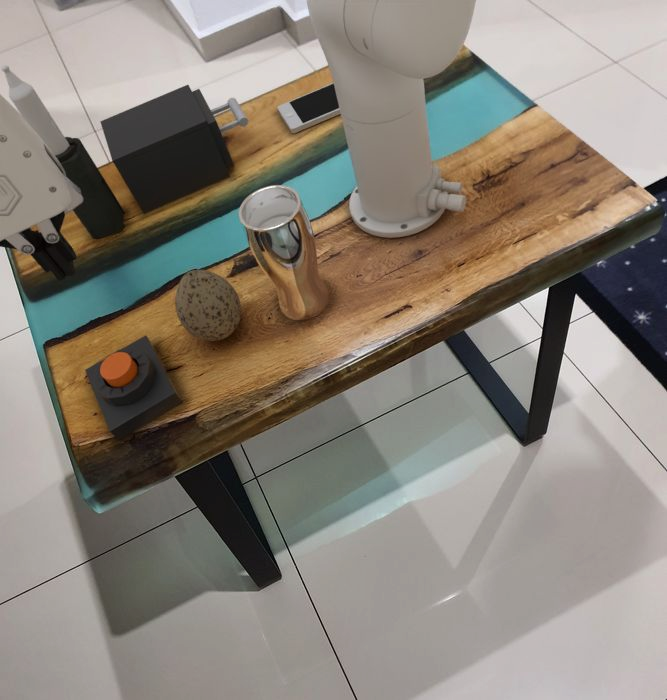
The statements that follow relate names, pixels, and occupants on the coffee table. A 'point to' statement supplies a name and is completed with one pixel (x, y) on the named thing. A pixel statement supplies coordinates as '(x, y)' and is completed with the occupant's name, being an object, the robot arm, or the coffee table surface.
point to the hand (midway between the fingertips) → (66, 268)
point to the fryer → (164, 149)
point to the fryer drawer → (217, 130)
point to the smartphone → (310, 108)
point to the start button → (119, 369)
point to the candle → (70, 162)
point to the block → (135, 391)
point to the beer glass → (285, 249)
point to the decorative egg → (207, 305)
